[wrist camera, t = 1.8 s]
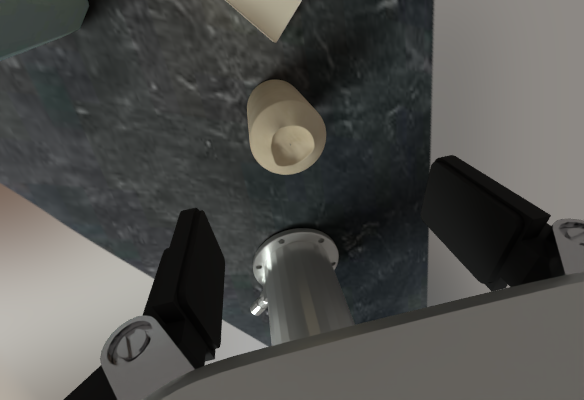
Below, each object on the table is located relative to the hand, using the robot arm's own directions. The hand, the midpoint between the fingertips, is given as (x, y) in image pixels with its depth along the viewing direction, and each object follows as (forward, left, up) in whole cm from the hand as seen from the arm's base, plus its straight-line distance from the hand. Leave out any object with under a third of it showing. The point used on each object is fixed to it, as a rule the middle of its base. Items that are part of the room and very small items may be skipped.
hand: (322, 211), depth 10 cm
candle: (0, 0, -18) cm, 18 cm away
